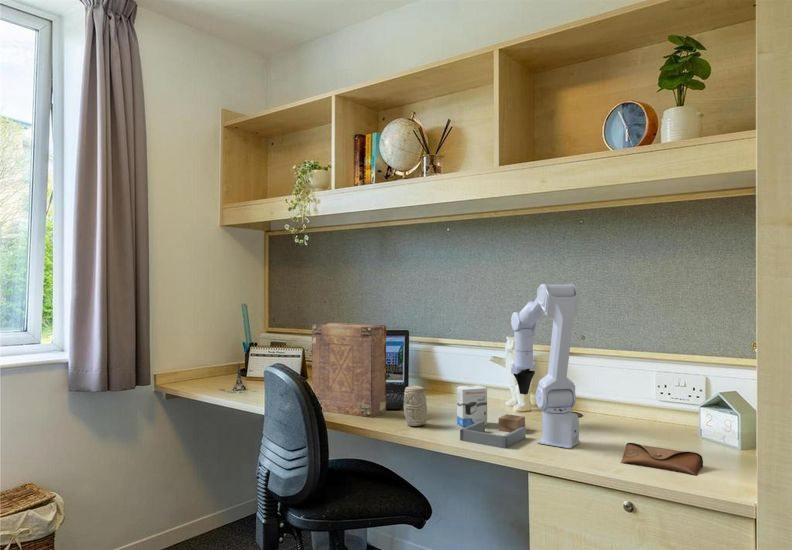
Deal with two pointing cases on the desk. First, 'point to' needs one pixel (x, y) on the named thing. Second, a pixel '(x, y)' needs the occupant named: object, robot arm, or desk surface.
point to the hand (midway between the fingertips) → (524, 393)
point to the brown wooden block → (511, 423)
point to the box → (490, 436)
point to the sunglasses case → (662, 458)
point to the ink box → (471, 405)
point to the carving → (415, 406)
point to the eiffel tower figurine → (237, 384)
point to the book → (349, 368)
